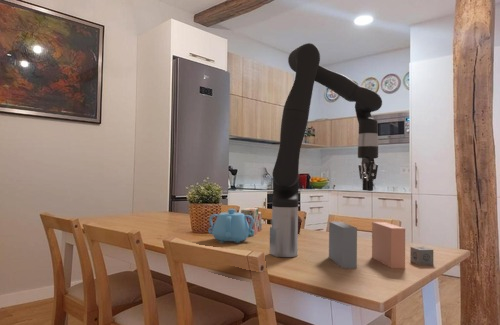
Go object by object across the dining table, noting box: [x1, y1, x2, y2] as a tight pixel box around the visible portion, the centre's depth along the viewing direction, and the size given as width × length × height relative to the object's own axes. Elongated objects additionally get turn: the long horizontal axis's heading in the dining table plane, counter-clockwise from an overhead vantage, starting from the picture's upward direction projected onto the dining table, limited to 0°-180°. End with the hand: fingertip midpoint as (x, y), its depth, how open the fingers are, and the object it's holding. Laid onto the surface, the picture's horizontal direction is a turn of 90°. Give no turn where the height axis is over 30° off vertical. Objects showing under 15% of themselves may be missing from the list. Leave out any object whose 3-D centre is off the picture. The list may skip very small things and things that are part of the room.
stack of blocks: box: [240, 207, 263, 237], centre depth 180 cm, size 21×6×12 cm, turn 168°
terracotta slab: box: [371, 221, 406, 269], centre depth 122 cm, size 15×4×12 cm, turn 4°
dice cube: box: [409, 246, 434, 266], centre depth 122 cm, size 5×5×5 cm
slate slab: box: [328, 221, 358, 269], centre depth 121 cm, size 15×4×12 cm, turn 4°
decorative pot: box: [208, 208, 255, 244], centre depth 157 cm, size 16×16×14 cm
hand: (367, 190), depth 140 cm, fingers open, 3 cm apart
